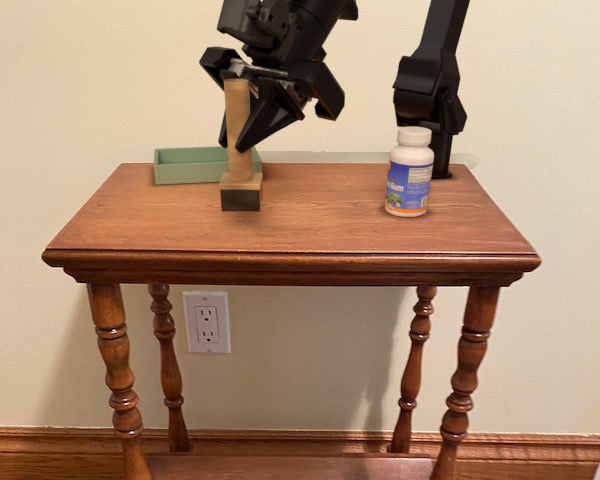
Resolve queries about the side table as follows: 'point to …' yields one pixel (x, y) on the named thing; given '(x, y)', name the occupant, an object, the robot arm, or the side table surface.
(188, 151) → the tray
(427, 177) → the pill bottle
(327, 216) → the side table surface
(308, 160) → the side table surface
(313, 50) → the robot arm
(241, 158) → the scrub brush
